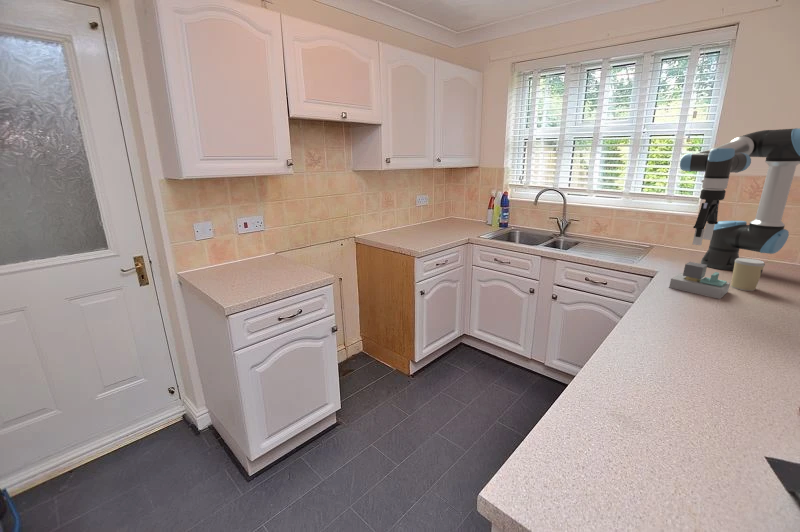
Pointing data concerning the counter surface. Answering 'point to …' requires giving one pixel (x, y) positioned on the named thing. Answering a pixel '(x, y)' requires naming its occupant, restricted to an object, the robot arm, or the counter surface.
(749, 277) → the coffee cup
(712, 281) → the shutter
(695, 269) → the plug
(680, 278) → the socket plate
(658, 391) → the counter surface
